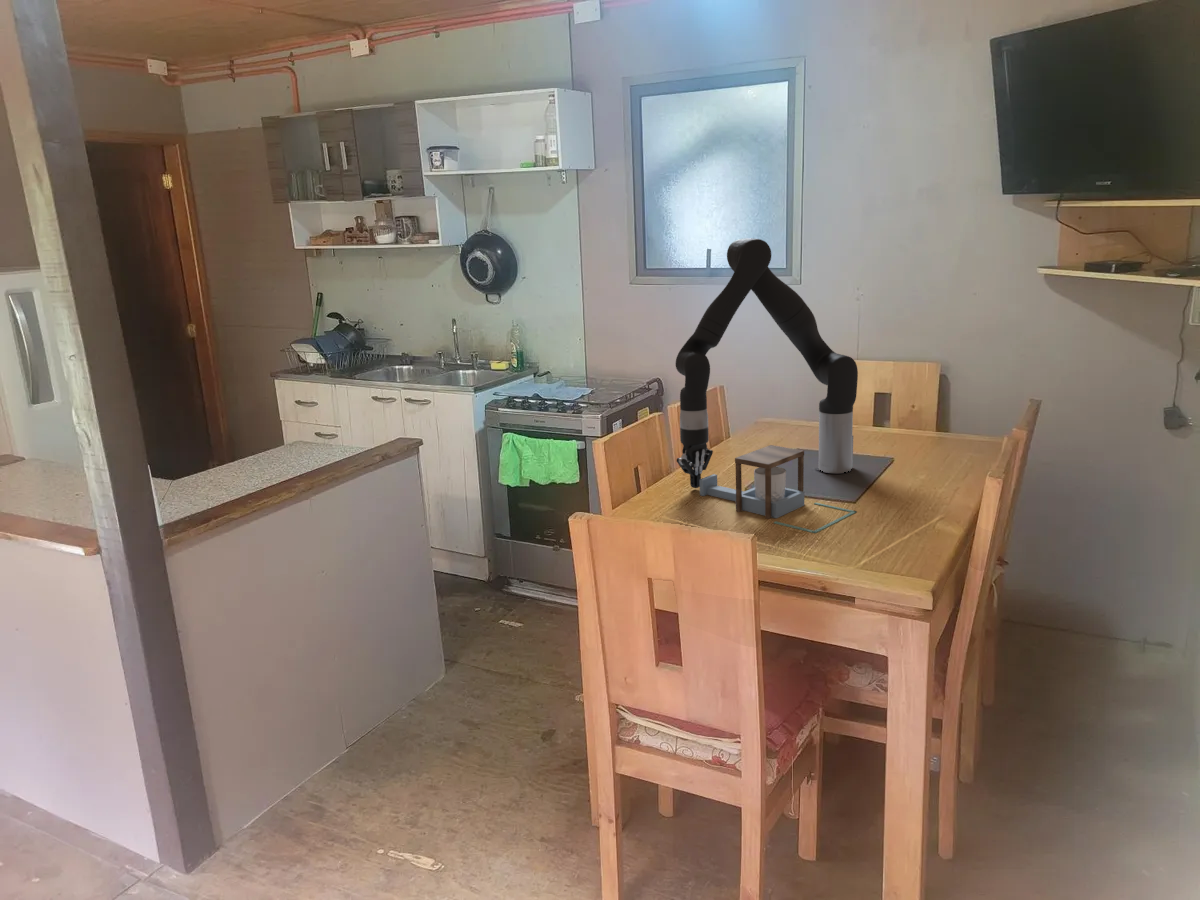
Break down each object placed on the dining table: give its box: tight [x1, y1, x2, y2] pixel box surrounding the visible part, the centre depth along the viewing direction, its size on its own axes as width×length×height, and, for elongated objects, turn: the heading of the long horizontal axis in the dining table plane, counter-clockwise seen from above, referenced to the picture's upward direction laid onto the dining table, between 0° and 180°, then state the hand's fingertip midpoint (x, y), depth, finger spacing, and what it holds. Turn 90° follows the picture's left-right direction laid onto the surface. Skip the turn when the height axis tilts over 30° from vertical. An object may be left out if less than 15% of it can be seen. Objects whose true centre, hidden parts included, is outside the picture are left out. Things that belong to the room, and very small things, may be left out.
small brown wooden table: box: [734, 444, 805, 520], centre depth 217 cm, size 15×10×14 cm, turn 134°
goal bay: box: [773, 502, 858, 534], centre depth 210 cm, size 18×11×1 cm, turn 134°
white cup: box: [753, 466, 787, 502], centre depth 218 cm, size 8×8×10 cm
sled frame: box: [699, 473, 805, 519], centre depth 223 cm, size 12×26×4 cm, turn 44°
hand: (695, 487), depth 236 cm, fingers closed
